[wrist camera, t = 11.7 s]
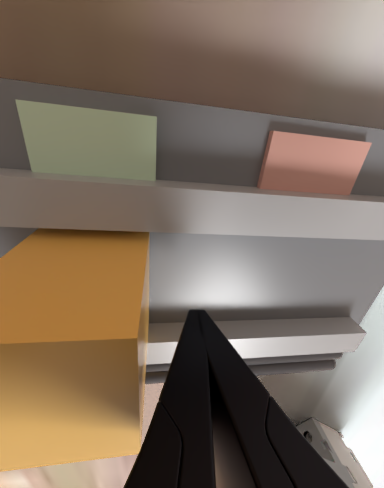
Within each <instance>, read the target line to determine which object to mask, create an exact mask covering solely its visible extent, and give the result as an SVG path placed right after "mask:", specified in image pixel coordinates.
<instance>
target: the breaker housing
mask: <svg viewBox="0 0 384 488" xmlns="http://www.w3.org/2000/svg"><path fill="white" fill-rule="evenodd" d="M38 228H51V229H79V230H107V231H135V232H150V234H149V327H148V343H147V359H146V374H145V384H154V383H164V382H165V379H166V376H167V373H168V370H169V367H170V364H171V361H172V358H173V355H174V352H175V349H176V346H177V344H178V341H179V338H180V335H181V332H182V329H183V326H184V323H185V320H186V317H187V314H188V311H189V310H190V309H204V310H205V311H206V312H207V313H208V315H209V316H210V317H211V318H212V320H213V321H214V322H215V324H216V325H217V326H218V328H219V329H220V330H221V331H222V333H223V334H224V335H225V337H226V338H227V339H228V340H229V342H230V343H231V344H232V346H233V347H234V348H235V350H236V351H237V352H238V353H239V355H240V356H241V357H242V359H243V360H244V361H245V363H246V364H247V365H248V366H249V368H250V369H251V370H252V372H253V373H254V374H255V376H259V375H272V374H285V373H298V372H311V371H324V370H332V369H334V368H335V366H336V361H335V359H339V358H341V357H342V355H343V352H354V351H355V350H356V348H357V347H358V345H359V344H360V342H361V341H362V339H363V338H364V336H365V335H366V332H365V331H364V330H363V329H362V328H361V327H360V326H359V324H360V322H361V321H362V319H363V317H364V316H365V314H366V313H367V311H368V309H369V308H370V306H371V305H372V303H373V302H374V300H375V298H376V297H377V295H378V294H379V292H380V290H381V289H382V287H383V286H384V129H376V128H369V127H361V126H354V125H347V124H339V123H332V122H324V121H317V120H309V119H302V118H295V117H287V116H280V115H272V114H265V113H258V112H250V111H243V110H235V109H228V108H220V107H213V106H206V105H198V104H191V103H183V102H176V101H168V100H161V99H154V98H146V97H139V96H131V95H124V94H116V93H109V92H102V91H94V90H87V89H79V88H72V87H64V86H57V85H50V84H42V83H35V82H27V81H20V80H12V79H5V78H0V258H1V257H2V256H4V255H5V254H6V253H8V252H9V251H10V250H11V249H13V248H14V247H15V246H17V245H18V244H19V243H20V242H22V241H23V240H24V239H26V238H27V237H28V236H29V235H31V234H32V233H33V232H35V231H36V230H37V229H38Z"/></svg>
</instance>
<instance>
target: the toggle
mask: <svg viewBox="0 0 384 488" xmlns="http://www.w3.org/2000/svg"><path fill="white" fill-rule="evenodd" d="M149 234H150V232H135V231H107V230H79V229H51V228H38V229H37V230H36V231H35V232H33V233H32V234H31V235H29V236H28V237H27V238H26V239H24V240H23V241H22V242H20V243H19V244H18V245H17V246H15V247H14V248H13V249H11V250H10V251H9V252H8V253H6V254H5V255H4V256H2V257H1V258H0V472H1V471H9V470H17V469H25V468H33V467H41V466H49V465H56V464H64V463H72V462H80V461H88V460H96V459H104V458H111V457H119V456H127V455H135V454H139V451H140V449H141V438H142V422H143V406H144V390H145V374H146V359H147V343H148V327H149Z"/></svg>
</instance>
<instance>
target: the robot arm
mask: <svg viewBox="0 0 384 488" xmlns="http://www.w3.org/2000/svg"><path fill="white" fill-rule="evenodd" d="M124 488H349V487H348V485H347V484H346V483H345V482H344V481H343V480H342V479H341V478H340V477H339V475H338V474H337V473H336V472H335V471H334V470H333V469H332V468H331V467H330V465H329V464H328V463H327V462H326V461H325V460H324V459H323V458H322V457H321V455H320V454H319V453H318V452H317V451H316V450H315V449H314V448H313V446H312V445H311V444H310V443H309V442H308V441H307V439H306V438H305V437H304V436H303V435H302V434H301V433H300V431H299V430H298V429H297V428H296V427H295V425H294V424H293V423H292V422H291V420H290V419H289V418H288V417H287V415H286V414H285V413H284V412H283V410H282V409H281V408H280V407H279V405H278V404H277V403H276V401H275V400H274V399H273V397H271V396H270V394H269V392H268V391H267V390H266V389H265V387H264V386H263V385H262V383H261V382H260V381H259V379H258V378H257V377H256V376H255V374H254V373H253V372H252V370H251V369H250V368H249V366H248V365H247V364H246V363H245V361H244V360H243V359H242V357H241V356H240V355H239V353H238V352H237V351H236V350H235V348H234V347H233V346H232V344H231V343H230V342H229V340H228V339H227V338H226V337H225V335H224V334H223V333H222V331H221V330H220V329H219V328H218V326H217V325H216V324H215V322H214V321H213V320H212V318H211V317H210V316H209V315H208V313H207V312H206V311H205V310H204V309H190V310H189V311H188V314H187V317H186V320H185V323H184V326H183V329H182V332H181V335H180V338H179V341H178V344H177V346H176V349H175V352H174V355H173V358H172V361H171V364H170V367H169V370H168V373H167V376H166V379H165V382H164V385H163V388H162V391H161V394H160V397H159V402H158V403H157V406H156V409H155V412H154V415H153V418H152V420H151V423H150V426H149V429H148V431H147V434H146V437H145V439H144V442H143V444H142V447H141V449H140V451H139V454H138V456H137V458H136V461H135V463H134V465H133V468H132V470H131V472H130V475H129V477H128V479H127V481H126V483H125V485H124Z"/></svg>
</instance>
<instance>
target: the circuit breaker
mask: <svg viewBox="0 0 384 488" xmlns="http://www.w3.org/2000/svg"><path fill="white" fill-rule="evenodd" d="M296 428H297V429H298V430H299V431H300V433H301V434H302V435H303V436H304V437H305V438H306V439H307V441H308V442H309V443H310V444H311V445H312V446H313V448H314V449H315V450H316V451H317V452H318V453H319V454H320V455H321V457H322V458H323V459H324V460H325V461H326V462H327V463H328V464H329V465H330V467H331V468H332V469H333V470H334V471H335V472H336V473H337V474H338V475H339V477H340V478H341V479H342V480H343V481H344V482H345V483H346V484H347V485H348V487H349V488H373V485H372V483H371V482H370V480H369V478H368V477H367V475H366V473H365V472H364V470H363V468H362V467H361V465H360V464H359V462H358V460H357V459H356V457H355V455H354V454H353V452H352V450H351V449H349V448H347V447H346V445H345V444H344V442H343V440H342V439H341V438H343V435H342V434H341V433H338V432H337V431H336V430H334V429H332V428H330V427H329V426H327V425H325V424H323V423H321V422H319V421H318V420H316V419H314V418H310V419H308V420H307V421H305V422H303V423H301V424H299V425H297V426H296ZM351 455H352V456H351ZM354 460H355V461H354Z"/></svg>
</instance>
